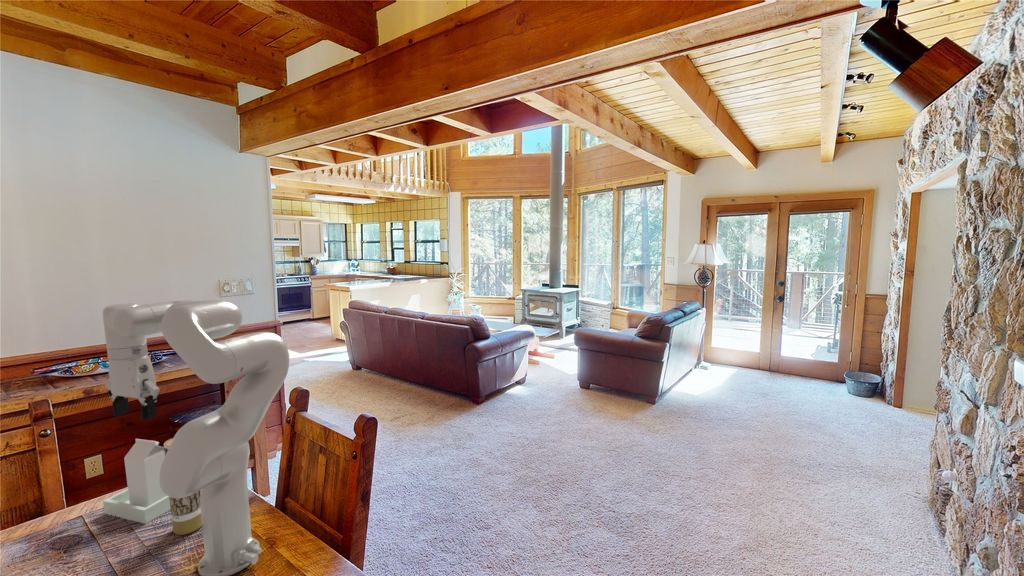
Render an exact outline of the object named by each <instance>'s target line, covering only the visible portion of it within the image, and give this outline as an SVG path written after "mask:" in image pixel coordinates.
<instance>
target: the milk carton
mask: <svg viewBox="0 0 1024 576" xmlns="http://www.w3.org/2000/svg"><path fill="white" fill-rule="evenodd" d="M159 444H160V442H159V441H156V440H150V439H149V440H148V439H140V438H135V443H134V444H133V445H132V447H131V448H130V449H129V451H128V452H127V453H126V455H125V456H124V458H123V459H124V461H123V462H124V467H125V474H126V475H125V476H126V483H127V489H128V494H129V502H130V504H132V505H136V506H141V507H145V508H146V507H148V506H149V505H151V504H153V503H155V502H157V501H158V500H160V499H162V498H164V497H165V496H167V495H166V494H165V493H164V492H163V491H162V489H161V487H160V483H159V472H160V468H161V465H162V462H163V460H164V458H165V453H164V446H161V445H159Z"/></svg>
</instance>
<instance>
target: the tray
mask: <svg viewBox="0 0 1024 576" xmlns="http://www.w3.org/2000/svg"><path fill="white" fill-rule="evenodd" d="M102 503H103V510H104V512H103V513H104V514H105V515H107V514H108V516H111V515H112V517H115V516H116V518H119V517H120V519H124V520H128V521H132V522H136V523H141V524H145V525H147V524H149V523H150V522H151V521H153V520H155V519H157V518H158V517H160V516H162V515H164V514H165V513H167V512H168V511H171V508H170V499H169V496H165V497H164V498H162V499H160V500H158V501H157V502H155V503H153V504H151V505H149V506H148V507H146V508H145V507H141V506H136V505H132V504H130V502H129V494H128V488H126V489H123V490H122V491H120V492H118V493H115V494H113V495H112V496H110V497H108V498H105V499H104V500H103V501H102Z"/></svg>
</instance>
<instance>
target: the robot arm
mask: <svg viewBox="0 0 1024 576" xmlns="http://www.w3.org/2000/svg"><path fill="white" fill-rule="evenodd" d="M102 320H103V327H104V328H103V329H104V336H105V345H106V352H107V361H108V381H107V382H105V387H106V389H107V394H108V395H109V396H110V401H111V403H112V412H113V417H115V418H117V417H120V416H124V415H126V414H128V413H129V412H130V407H129V398H131V399H137V400H138V401H139V403H140V404H141V405H140V406H139V408H140V417H141V421H143V422H145V421H149V420H151V419H153V418H156V417H157V407H156V403H157V401H158V400H157V399H158V398H159V393H160V390H161V389H160V387H159V386H157V381H156V375H155V369H154V368H153V364H152V360H151V358H150V356H149V351H148V343H147V336H150V335H153V334H154V335H155V334H161V333H162V335H163V337H164V339H165V341H166V342H167V344H168V345H169V346H170V347H171V349H173V351H174V352H175V353H176V354H177V356H179V357H180V358H181V360H182V361H183V362H184V363H185V364H186V365H187V366H188V367H189V369H190V370H192V372H193V373H194V374H195V375H196V377H198V378H199V379H200V380H202V381H203V382H205V383H208V384H212V385H215V384H216V385H217V384H223V383H225V382H226V383H227V382H229V381H231V380H234V379H237V378H241V379H240V380H239V381H238V382H237V383H236V384H235V385H234V386H233V387H232V389H231V391H229V394H228V397H227V399H226V400H225V402H224V403H223V405H222V406H220V407H218V408H217V409H216V410H214V411H211V412H209V413H207V414H204V415H201V416H199V417H196V418H194V419H191V420H189V421H188V422H186V423H185V424H184V425H182V426H181V427H180V428H179V429H178V430H177V432H176V433H175V434H174V436H173V440H172V443H171V445H170V447H169V449H168V451H167V453H166V456H165V458H164V460H163V462H162V465H161V468H160V472H159V483H160V487H161V489H162V491H163V492H164V493H165V494H166V495H167V496H169V497H171V498H184V497H187V496H190V495H192V494H194V493H196V492H198V491H200V490H201V496H200V508H201V519H202V526H201V527H202V536H203V539H202V540H203V547H204V555H203V556H202V557H201V558H200V560H199V562H198V565H197V570H198V574H199V575H200V576H232V575H234V574H237V573H239V572H241V571H242V570H243V569H245V568H247V567H248V566H250V565H255V564H256V563H258V561H259V555H260V554H262V552H263V548H262V547H261V545H260V542H259V541H258V539H256V538H255V537H253V536H252V526H251V514H250V504H249V503H250V502H249V501H250V500H249V489H248V488H249V487H248V468H249V467H248V466H249V460H250V444H249V441H250V440H251V439H252V438H253V436H254V435H255V434H256V432H257V430H258V428H259V426H260V425H261V422H262V421H263V419H264V417H265V415H266V413H267V412H268V410H269V408H270V405H271V404H272V402H273V400H274V399H275V397H276V396H277V394H278V392H279V391H280V390H281V388H282V385H283V384H284V382H285V380H286V378H287V375H288V373H289V367H290V353H289V349H288V346H287V343H286V342H285V340H284V339H283V337H282V336H280V335H278V334H277V333H274V332H271V331H270V332H269V331H257V332H251V333H246V334H242V335H238V336H235V337H230V338H226V339H225V338H224V337H227V336H229V335H232V334H233V333H235V332H236V331H237V330H238V329H239V328H240V326H241V324H242V323H243V314H242V311H241V310H240V308H239V307H238V306H237V305H236V304H234V303H232V302H230V301H227V300H220V299H219V300H216V299H215V300H214V299H213V300H212V299H211V300H171V301H164V302H163V301H162V302H154V303H148V304H142V305H141V304H139V303H131V302H130V303H118V304H117V303H116V304H111V305H107V306H105V307H104V308H103V310H102ZM220 338H224V339H222V340H217V341H214V340H216V339H220ZM145 397H146V398H145Z"/></svg>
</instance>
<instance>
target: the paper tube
mask: <svg viewBox="0 0 1024 576" xmlns="http://www.w3.org/2000/svg"><path fill="white" fill-rule="evenodd" d="M173 438H174V437H173ZM173 438H169V439H168V440H166V441H165V442H164V443H163V447H164V453H165V456H166V453H167V451H168V449H169V447H170V445H171V443H172V440H173ZM201 491H202V489H201V490H200V491H198V492H196V493H194V494H192V495H190V496H187V497H184V498H171V497H169V499H170V508H171V509H170V515H171V517H170V518H171V524H172V531H173V533H174V534H175V535H178V536H183V535H188V534H191V533H194V532H196V531H197V530H199V529H200V528H201V527H202V519H201V508H200V496H201Z"/></svg>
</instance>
